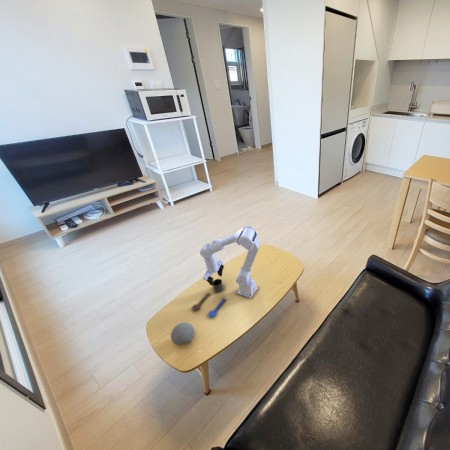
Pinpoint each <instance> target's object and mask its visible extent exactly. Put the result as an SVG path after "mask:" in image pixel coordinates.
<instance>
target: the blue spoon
mask: <svg viewBox="0 0 450 450" xmlns="http://www.w3.org/2000/svg"><path fill="white" fill-rule="evenodd" d="M225 301H226V299H224V298H223V299H222V300H221V301H220V302H219V304H218V305H217V306H216V307H215V308H214V310H211V311H209V312H208V317H209V318H214V317H216V315H217V311H218V310H219V308H221V306H222V305H223V304H224V302H225Z"/></svg>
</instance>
